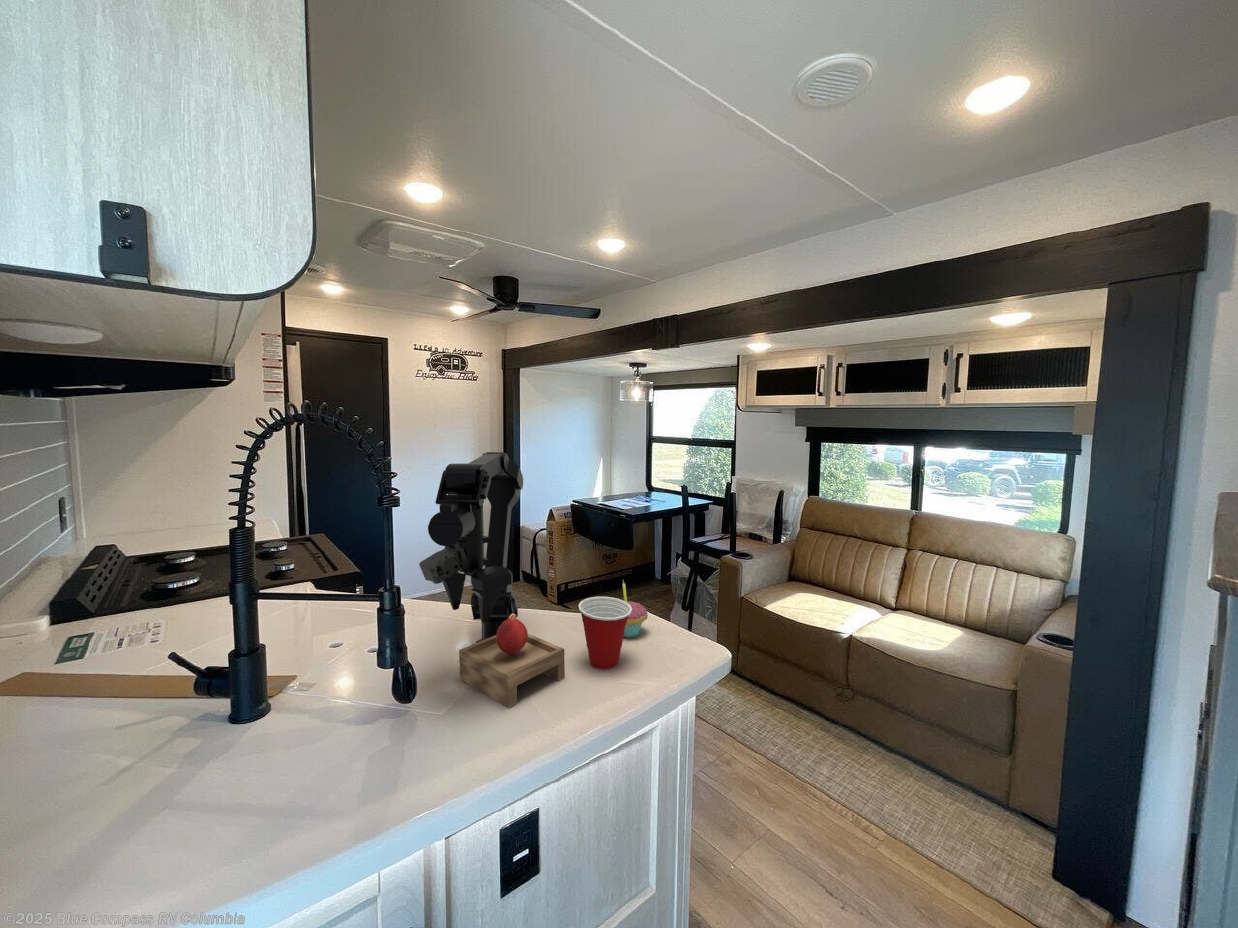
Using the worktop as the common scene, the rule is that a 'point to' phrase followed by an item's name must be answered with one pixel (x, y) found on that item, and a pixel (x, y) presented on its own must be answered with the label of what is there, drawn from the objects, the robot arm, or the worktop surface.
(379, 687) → the worktop surface
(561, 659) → the shelf
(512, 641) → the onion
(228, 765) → the worktop surface
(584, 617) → the plastic cup
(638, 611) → the cupcake
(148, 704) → the worktop surface
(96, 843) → the worktop surface
